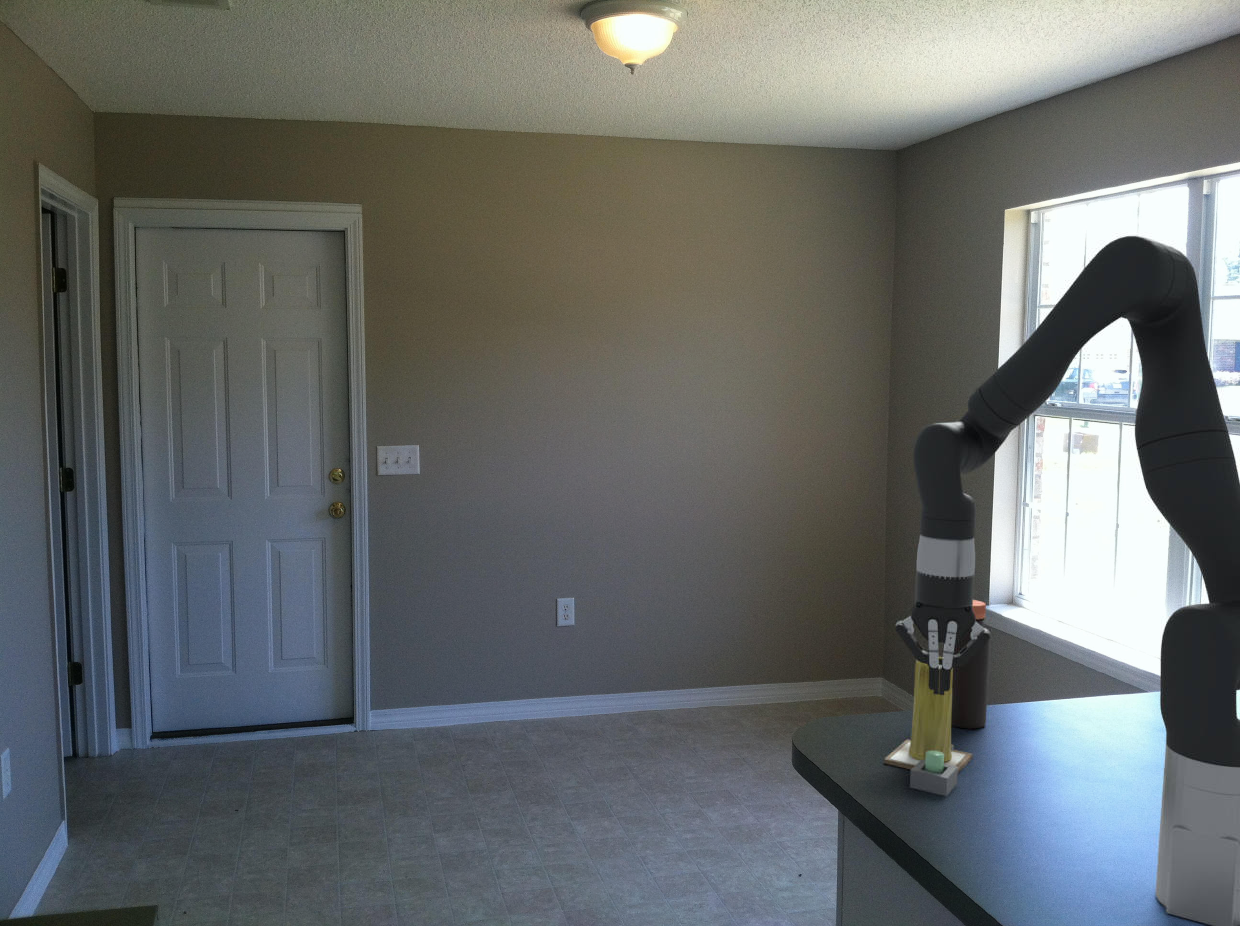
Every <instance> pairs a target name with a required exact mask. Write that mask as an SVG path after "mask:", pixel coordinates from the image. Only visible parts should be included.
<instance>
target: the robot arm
mask: <svg viewBox="0 0 1240 926" xmlns="http://www.w3.org/2000/svg"><path fill="white" fill-rule="evenodd" d="M1121 318H1122V319H1125V320H1127V322H1128V323H1129V325H1130V328H1131V331H1132V333H1133V337H1134V340H1135V344H1136V348H1137V350H1138V355H1139V358H1140V365H1141V373H1142V374H1141V387H1140V393H1139V397H1138V401H1137V406H1136V411H1135V412H1136V414H1135V420H1134V440H1135V445H1136V446H1135V447H1136V451H1137V456H1138V460H1139V465H1140V469H1141V470H1140V471H1141V474H1142V478H1143V482H1144V485H1145V488H1146V491H1147V494H1148V495H1149V498H1150V499H1151V501H1152V502H1153V504H1154V505H1155V507H1156V508H1157V510H1158V511H1159V513H1161V515H1162V516H1163V518H1164V519H1165V520H1166V522H1167V523H1168V524H1169V525H1170V526H1171V527H1172V529H1173V530H1174V531H1175V532H1176V534H1177V535H1178V536H1179V537H1180V539H1181V540H1182V541H1183V542H1184V544H1185V545H1186V547H1187V548H1188V549H1189V551H1190V553H1191V554H1192V556H1193V557H1194V559H1195V562H1196V563H1197V565H1198V567H1199V571H1200V572H1201V576H1202V579H1203V581H1204V582H1203V583H1204V586H1205V590H1206V596H1207V598H1208V603H1199V604H1198V603H1197V604H1196V603H1195V604H1189V605H1186V606H1185V605H1184V606H1182V607H1180V608H1178V609H1176V610H1174V612H1173V613H1172V614H1171V615H1170V616H1169V617H1168V620H1167V622H1166V624H1165V627H1164V629H1163V632H1162V637H1161V644H1160V675H1159V676H1160V682H1159V683H1160V684H1159V685H1160V687H1159V689H1160V691H1159V692H1160V693H1159V694H1160V695H1159V698H1160V699H1159V700H1160V701H1159V703H1160V704H1159V705H1160V713H1161V718H1162V720H1163V721H1162V722H1163V723H1164V727H1165V731H1166V732H1165V733H1166V734H1165V735H1166V736H1165V753H1164V766H1163V776H1162V777H1163V779H1162V780H1163V781H1162V791H1161V792H1162V793H1161V795H1162V796H1161V808H1160V818H1159V819H1160V822H1159V834H1158V835H1159V836H1158V849H1157V865H1156V866H1157V867H1156V880H1155V881H1156V882H1155V896H1156V899H1157V900H1158V901H1159V903H1161V904H1162V905H1163V906H1164V907H1165V913H1167V914H1169V915H1172V916H1176V917H1180V918H1184V919H1187V920H1191V921H1194V922H1199V923H1202V924H1205V925H1210V926H1240V718H1238V712H1237V710H1238V709H1237V692H1238V691H1240V478H1239V471H1238V466H1237V461H1236V456H1235V453H1234V449H1233V445H1232V441H1231V437H1230V434H1229V432H1230V431H1229V429H1228V426H1227V422H1226V419H1225V415H1224V412H1223V409H1222V406H1221V402H1220V397H1219V393H1218V389H1217V386H1216V385H1217V384H1216V382H1215V378H1214V374H1213V371H1212V367H1211V364H1210V359H1209V356H1208V353H1207V347H1206V341H1205V334H1204V328H1203V327H1204V326H1203V318H1202V310H1201V301H1200V292H1199V284H1198V280H1197V275H1196V272H1195V268H1194V266H1193V264H1192V262H1191V260H1189V258H1188V257H1187V256H1186V255H1185V253H1183V252H1182V251H1180V250H1179V249H1176V248H1175V247H1173V246H1170V245H1168V244H1165V243H1162V242H1160V241H1158V240H1155V239H1152V238H1148V237H1145V236H1140V235H1125V236H1121V237H1118V238H1116V239H1113V240H1112V241H1110V242H1109V243H1107V244H1106V245H1104V246H1103V247H1102V248H1101V249H1100V250H1099V251H1097V253H1096V254H1095V255H1094V256H1093V257H1092V259H1091V260H1090V261H1089V263H1087V264H1086V266H1085V267H1084V268H1083V269H1082V271H1081V272H1080V273H1079V275H1078V276H1077V277H1076V278H1075V280H1074V281H1073V282H1072V284H1071V285H1070V286H1069V287H1068V289H1067V290H1066V292H1065V293H1064V294H1063V295H1062V297H1061V298H1060V299H1058V302H1057V303H1056V304H1055V305H1054V307H1053V308H1052V309H1051V310H1050V311H1049V312H1048V314H1047V315H1046V317H1045V318H1044V319H1043V320H1042V321H1041V323H1040V324H1039V325H1038V327H1036V329H1035V330H1034V331H1033V332H1032V333H1031V335H1030V336H1029V337H1028V338H1027V340H1025V341H1024V343H1023V344H1022V345H1021V346H1020V347H1019V348H1018V349H1017V350H1016V351H1015V352H1014V353H1013V354H1012V355H1011V356H1010V357H1009V358H1008V359H1007V360H1005V362H1004V363H1003V364H1001V366H999V367H998V368H997V369H996V370H995V371H994V372H992V374H990V376H989V377H987V378H986V379H985V380H984V381H983V382H982V383H981V384H980V385H979V386H978V387H977V388H976V389H975V390H974V391H973V393H971V395H970V397H969V398H968V401H967V409H968V410H967V412H965V414H964V415H962V417H961V418H959V419H958V420H956V421H955V422H953V421H952V422H936V423H932V424H929V425H927V426H926V427H924V428H923V429H922V430H921V431H920V433H919V434H918V436H917V437H916V441H915V443H914V447H913V457H912V458H913V459H912V460H913V469H914V474H915V479H916V484H917V489H918V491H917V492H918V494H919V498H920V501H921V502H920V503H921V513H920V529H919V530H920V531H919V533H920V534H919V541H918V545H917V551H916V552H917V554H916V555H917V556H916V573H915V592H914V593H915V597H914V605H913V608H911V610H910V615H909V616H908V617H907V618H904V619H902V620H898V621H897V622H896V624H895V627H894V628H895V629H894V630H895V632H896V633H897V634H898V635H899V636H898V637H900V639H901V640H902V642H904V643H903V644H905V646H906V647H907V649H908V650H909V651H910V653H911V654H912V655H913V656H914V658H915V659H917V661H919V662H923V663H925V664H927V665H928V666H929V685H928V686H929V689H930V690H934V691H933V694H937V695H944V691H949V689H950V678H951V669H952V668H953V667H955V666H964V665H965V664H966V663H967V662H968V661H969V660H970V659H971V658H972V657H973V656H974V655H975V654H976V653H977V652H978V651H979V650H980V649H981V648H982V647H983V646H984V645H985V644H986V642H987V641H988V640H989V639H990V640H991V633H990V630H989V629H988V628H985V627H984V628H983V627H982V626H980V625H979V624H978V623H977V622H976V617H975V614H974V612H973V600H974V586H975V569H976V548H975V532H976V531H975V530H976V529H975V528H976V527H975V525H976V502H975V500H974V499H973V496H971V495H969V494H967V493H964V491H963V484H962V476H961V475H962V474H964V475H965V474H969V473H971V472H974V471H976V470H978V469H979V468H981V467H982V466H983V465H984V464H987V462H988V461H989V460H990V459H992V457H993V456H995V453H996V452H997V451H998V450H999V449H1000V448H1001V446H1002V445H1003V444H1004V443H1005V442H1006V439H1007V438H1008V436H1009V435H1010V434H1011V432H1012V431H1013V430H1014V429H1016V428H1017V427H1018V426H1020V425H1021V424H1022V423H1023V422H1024V421H1025V420H1027V419H1028V418H1029V417H1030V416H1031V415H1032V414H1033V413H1035V412H1036V411H1037V410H1038V409H1039V408H1040V407H1041V406H1042V405H1043V404H1044V403H1045V402H1047V401H1048V399H1050V397H1051V396H1052V395H1053V394H1054V392H1055V391H1056V389H1057V388H1058V387H1059V385H1060V383H1062V380H1063V378H1064V376H1065V375H1066V373H1067V371H1068V369H1069V367H1070V366H1071V364H1072V362H1073V361H1074V359H1075V357H1076V356H1077V355H1078V354H1079V352H1080V351H1081V349H1083V347H1085V345H1087V343H1088V342H1089V341H1091V339H1093V338H1094V337H1095V336H1097V335H1098V334H1099V333H1100V332H1102V331H1103V330H1105V328H1107V327H1108V326H1110V325H1111V324H1114V322H1116V321H1117V320H1120V319H1121ZM914 625H915V627H916V628H917V630H918V631H919V633H920V634H921V635H922V637H923V639H925V640H926V641H928V651H926V650H925V649H924V648H923V646H922V645H921V644H920V642H919V641H918V639H917V638H916V636H915V635H914V631H915V628H914ZM971 628H972V632H971V639H972V640H971V641H970V642H969V643H968V644H967V645H966V646H965V647H964V648H963V649H962V650H961V651H960V652H959V653H958V654H956V655H953V653H954V646H955V643H957V642H959V641H960V640H961V639H962V638H963V637H964V636H965V635H966V634H967V632H968V631H969V630H970V629H971ZM939 643H943V645H944V647H943V655H942V658H943V659H942V665H939V657H940V652H939ZM939 676H940V684H939Z"/></svg>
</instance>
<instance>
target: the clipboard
mask: <svg viewBox="0 0 1240 926" xmlns="http://www.w3.org/2000/svg"><path fill="white" fill-rule="evenodd" d="M910 744H911V739H905V740H904V741H903V742H902V743H901V744H900V745H899V746H897V747H896V748H895V749H893V751H892V752H891V753H889V754H888V755H887V756H885V758H884V759H883V764H886V765H890V766H894V767H898V768H899V767H900V768H903V769H908V770H911V769H912V768H913V767H914V766H915V765H916V764H917V763H918V762H919V761H920V760H918V759H915V758H914V757H912V756H911V755H910V754H909V748H910ZM951 753H952V758H951V759H950V760H949V761H947V762H944V764H947V765H952V766H956V767H958V774H959V773H960V772H961V771H962V770H963V769H964V768H965V767H966V766H967V765H968V763H969V762H970V761H971V760H973V757H974V754H973V753H971V752H966V751H961V750H957V749H955V748H954V744H952V743H951Z"/></svg>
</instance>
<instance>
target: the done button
mask: <svg viewBox="0 0 1240 926" xmlns="http://www.w3.org/2000/svg"><path fill="white" fill-rule="evenodd" d="M943 768H944V754H943V753H942V752H939V751H933V750H931V751H927V752H926V763H925V771H930V772H934V773H938V774H943Z"/></svg>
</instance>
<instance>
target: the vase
mask: <svg viewBox="0 0 1240 926" xmlns="http://www.w3.org/2000/svg"><path fill="white" fill-rule="evenodd" d="M915 659H916V658H915ZM942 659H943V657H941V656H939V665H942ZM952 680H953V668H952V669H951V678H950V689H949V691H944V695H937V694H933V691H934V690H930V689H929V686H928V685H929V666H928V665H927V664H925V663H923V662H919V661H917V659H916V660H915V668H914V691H913V697H914V698H913V709H912V710H913V711H912V727H911V738H910V740H911V744H910V748H909V754H910V755H911V756H912V757H914V758H915V759H918V760H922V759H925V760H926V752H927V751H931V750H933V751H939V752H942V753H943V754H944V762H947V761H949V760H950V759H951V758H952V753H951V744H952V726H951V713H952ZM939 684H940V676H939Z"/></svg>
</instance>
